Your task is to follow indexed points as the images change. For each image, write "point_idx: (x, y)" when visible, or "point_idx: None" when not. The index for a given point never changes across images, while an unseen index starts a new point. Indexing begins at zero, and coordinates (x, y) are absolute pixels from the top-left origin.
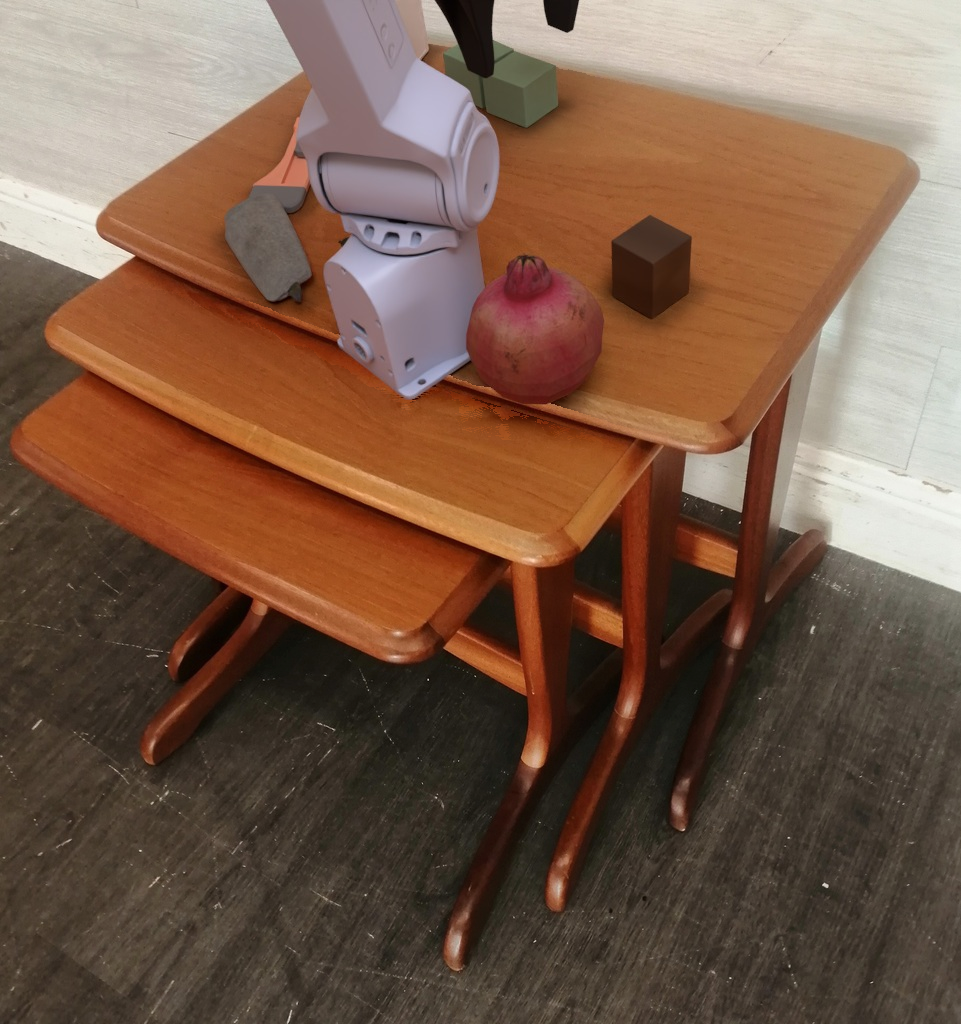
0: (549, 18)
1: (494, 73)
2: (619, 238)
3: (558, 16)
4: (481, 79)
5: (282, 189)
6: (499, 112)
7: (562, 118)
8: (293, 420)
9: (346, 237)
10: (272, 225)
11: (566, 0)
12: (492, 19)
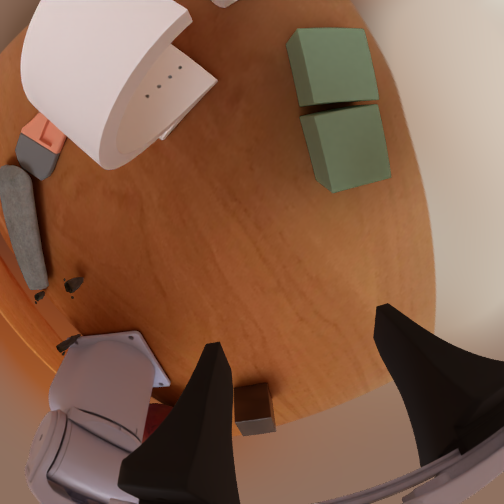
0: (380, 319)
1: (325, 132)
2: (240, 423)
3: (382, 339)
4: (313, 104)
5: (38, 151)
6: (307, 139)
7: (355, 189)
8: (50, 359)
9: (68, 283)
10: (20, 227)
11: (393, 368)
12: (232, 451)
